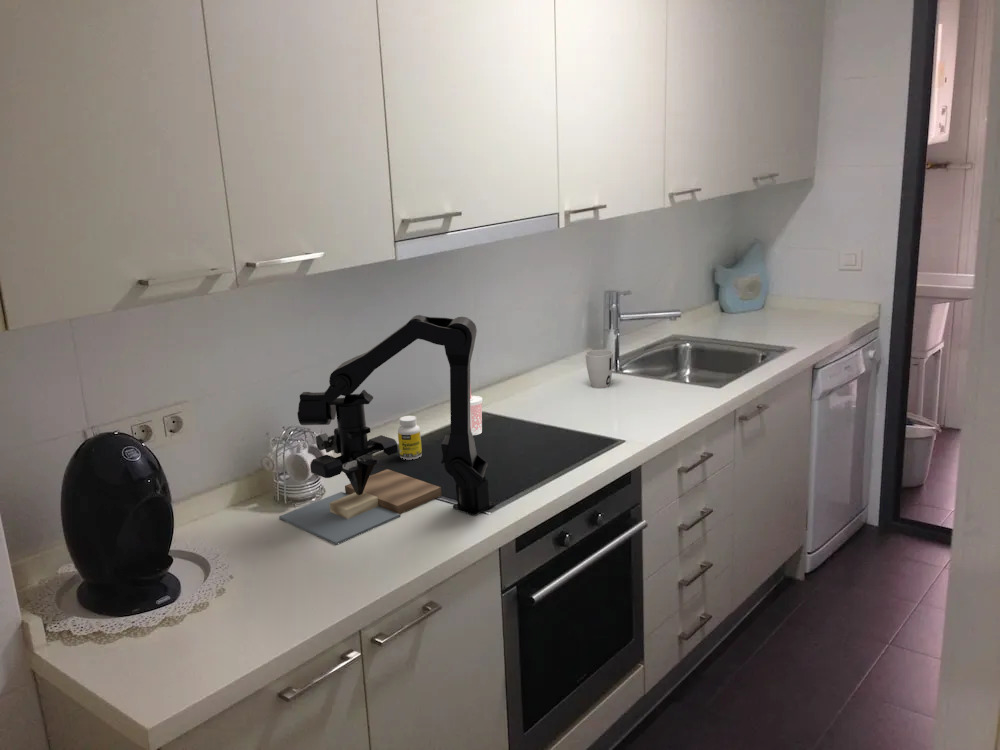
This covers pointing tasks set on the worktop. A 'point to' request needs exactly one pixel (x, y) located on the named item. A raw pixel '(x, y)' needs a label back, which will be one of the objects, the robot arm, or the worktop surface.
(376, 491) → the walnut board
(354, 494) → the birch tile
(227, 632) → the worktop surface
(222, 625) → the worktop surface
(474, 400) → the beverage cup
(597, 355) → the cup
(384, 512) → the slate mat
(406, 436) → the supplement bottle
